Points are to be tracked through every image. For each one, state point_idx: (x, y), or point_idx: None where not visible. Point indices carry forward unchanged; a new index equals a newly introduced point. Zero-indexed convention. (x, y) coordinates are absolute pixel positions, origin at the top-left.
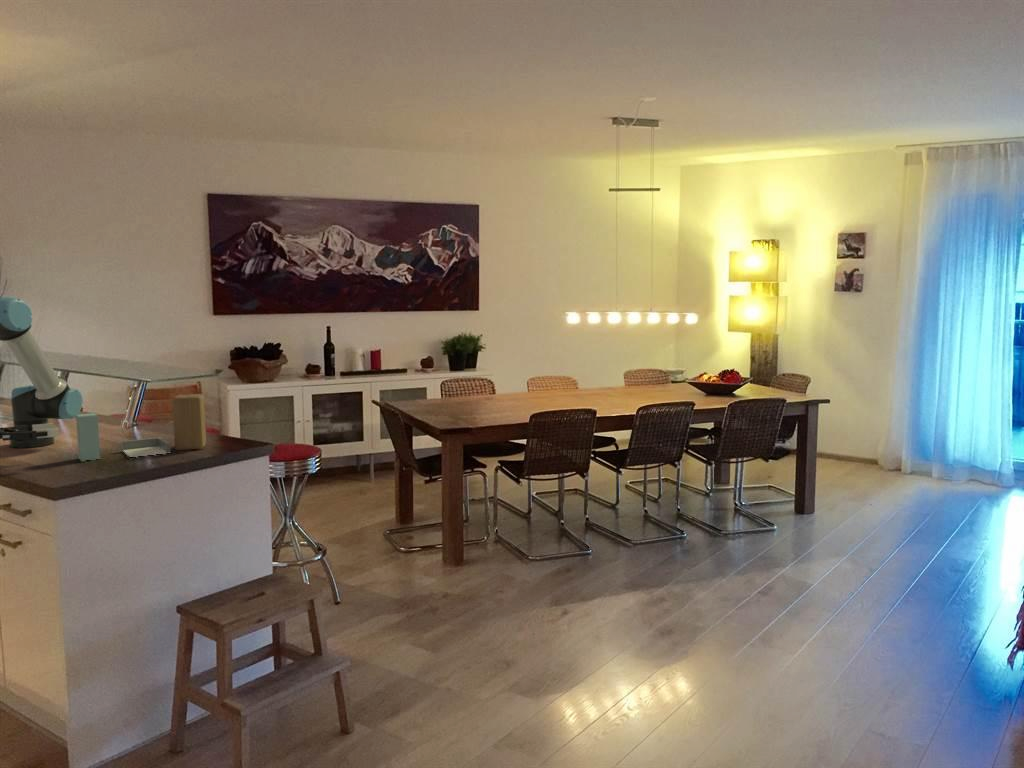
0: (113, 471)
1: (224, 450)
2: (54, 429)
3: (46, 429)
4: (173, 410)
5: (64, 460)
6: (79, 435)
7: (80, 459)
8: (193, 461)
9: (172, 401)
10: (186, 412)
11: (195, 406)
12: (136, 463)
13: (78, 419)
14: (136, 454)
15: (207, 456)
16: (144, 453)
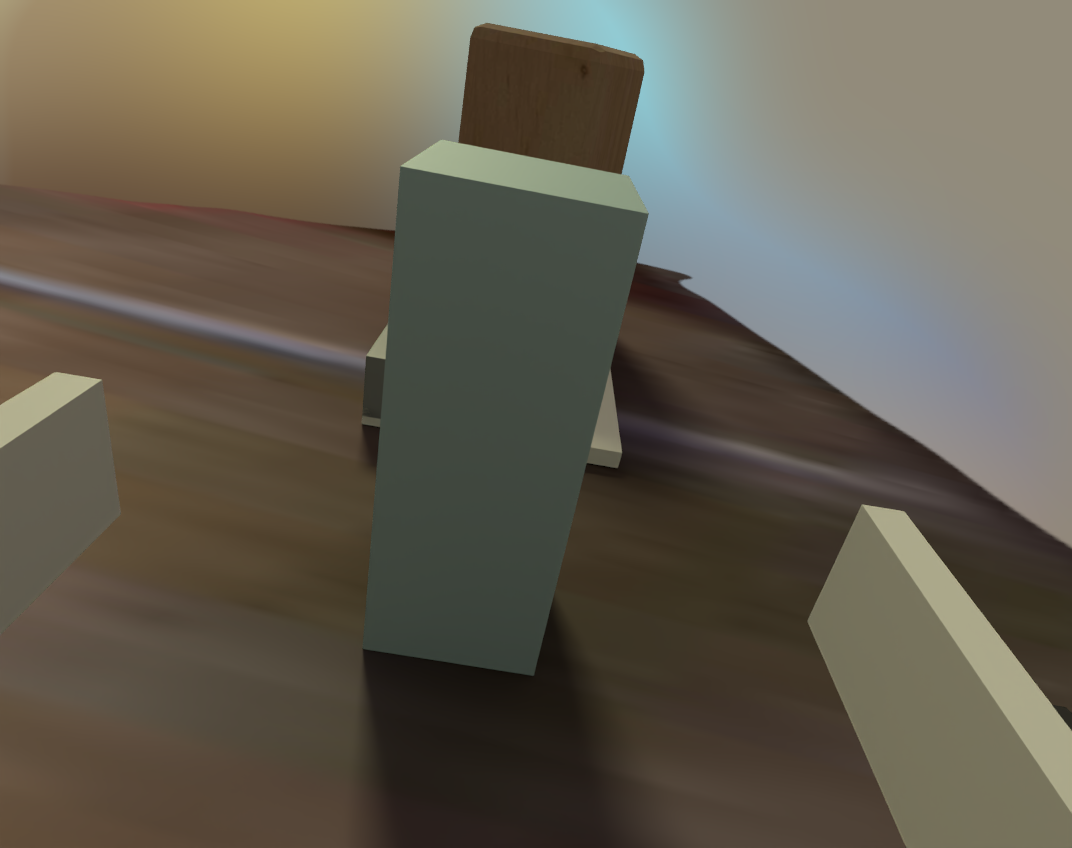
0: (1055, 643)
1: (652, 302)
2: (929, 561)
3: (1000, 666)
4: (586, 126)
5: (331, 776)
6: (559, 447)
7: (465, 658)
8: (838, 392)
9: (587, 68)
10: (611, 140)
11: (632, 108)
12: (804, 498)
13: (613, 251)
14: (612, 429)
15: (747, 348)
16: (606, 407)
